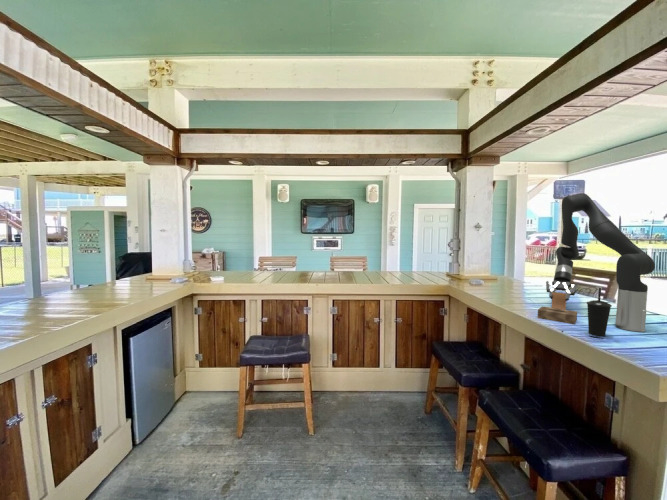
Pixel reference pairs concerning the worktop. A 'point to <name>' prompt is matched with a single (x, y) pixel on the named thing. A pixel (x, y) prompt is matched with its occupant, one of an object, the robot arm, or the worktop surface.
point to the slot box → (557, 315)
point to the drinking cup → (598, 316)
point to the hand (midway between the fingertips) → (558, 299)
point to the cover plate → (559, 300)
